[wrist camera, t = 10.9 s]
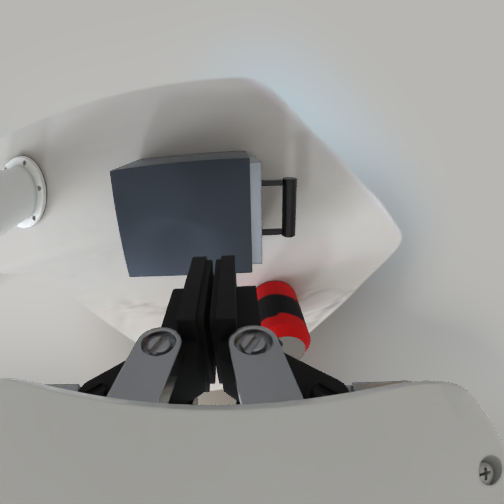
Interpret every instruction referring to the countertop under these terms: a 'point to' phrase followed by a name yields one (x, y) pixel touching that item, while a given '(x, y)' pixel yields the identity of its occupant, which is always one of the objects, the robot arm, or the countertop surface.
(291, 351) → the soda can
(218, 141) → the countertop surface
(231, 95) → the countertop surface
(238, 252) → the cabinet
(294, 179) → the drawer
